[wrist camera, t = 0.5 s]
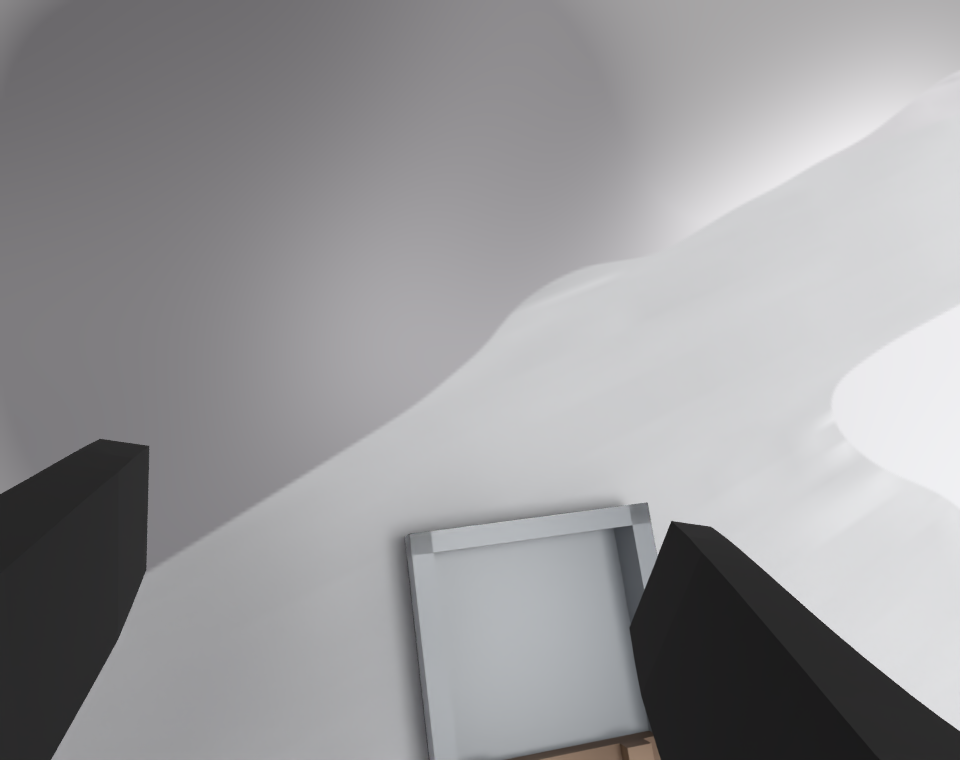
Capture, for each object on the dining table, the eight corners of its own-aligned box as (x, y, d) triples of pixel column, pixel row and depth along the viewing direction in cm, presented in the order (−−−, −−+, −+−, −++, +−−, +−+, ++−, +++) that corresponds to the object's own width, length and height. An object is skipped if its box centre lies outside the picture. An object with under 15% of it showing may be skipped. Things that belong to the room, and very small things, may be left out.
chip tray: (664, 725, 37) (691, 738, 34) (430, 772, 34) (438, 790, 32) (625, 507, 39) (647, 502, 37) (404, 536, 37) (409, 533, 34)
